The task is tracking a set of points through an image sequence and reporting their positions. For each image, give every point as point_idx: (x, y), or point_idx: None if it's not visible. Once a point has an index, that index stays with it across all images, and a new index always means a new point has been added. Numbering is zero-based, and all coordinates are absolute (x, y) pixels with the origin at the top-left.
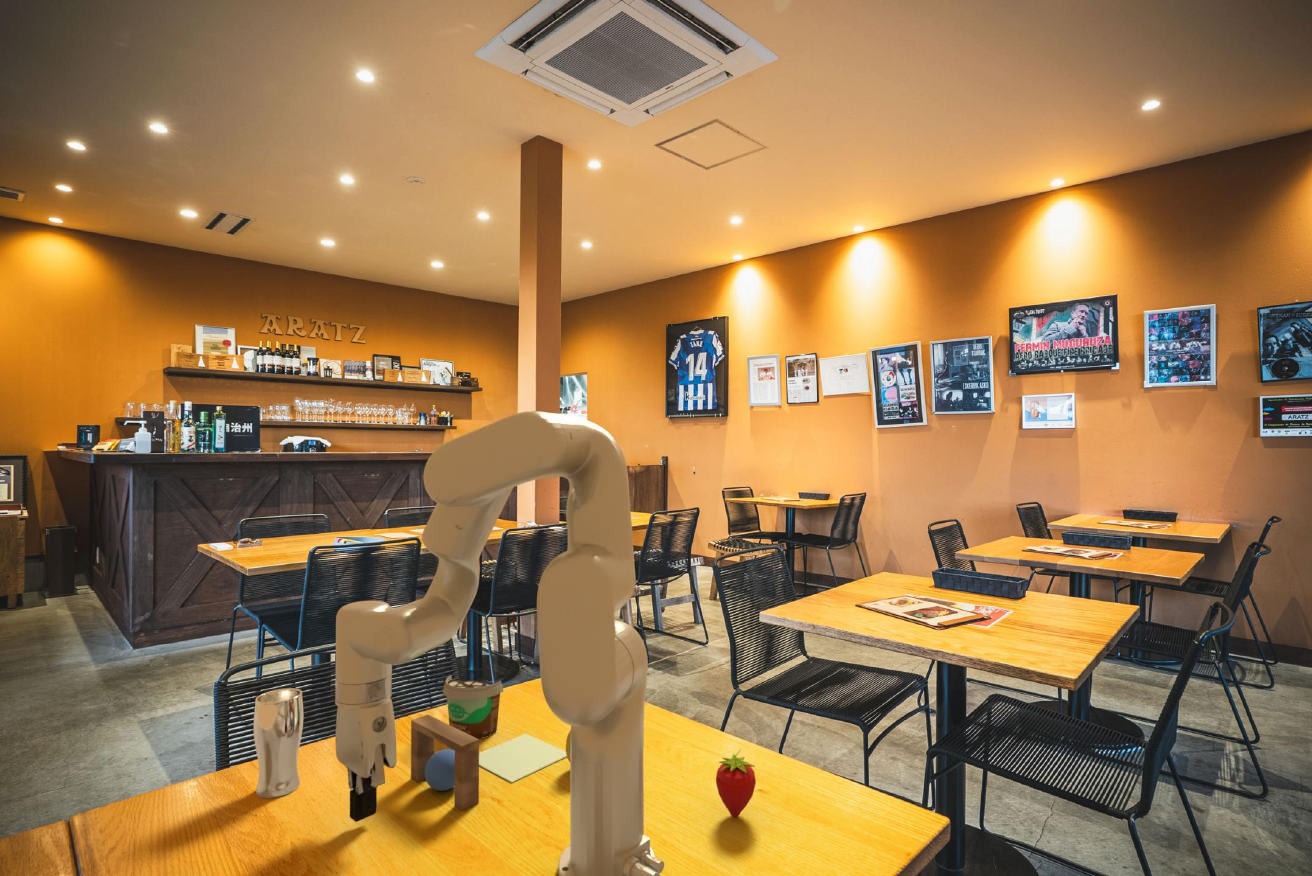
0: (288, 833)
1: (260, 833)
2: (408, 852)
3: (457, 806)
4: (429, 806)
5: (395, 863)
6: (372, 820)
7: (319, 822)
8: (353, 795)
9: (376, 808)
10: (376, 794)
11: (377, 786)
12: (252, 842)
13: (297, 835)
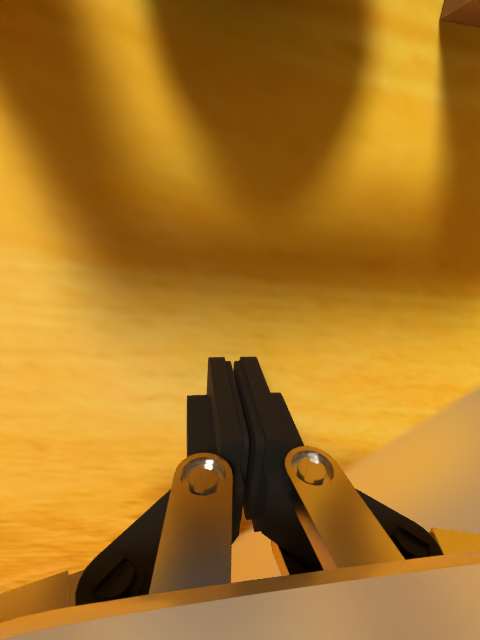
0: (76, 515)
1: (13, 557)
2: (470, 342)
3: (473, 21)
4: (325, 109)
5: (469, 385)
6: (215, 332)
7: (76, 448)
8: (254, 519)
9: (256, 361)
10: (273, 403)
11: (327, 456)
12: (53, 572)
13: (109, 502)
